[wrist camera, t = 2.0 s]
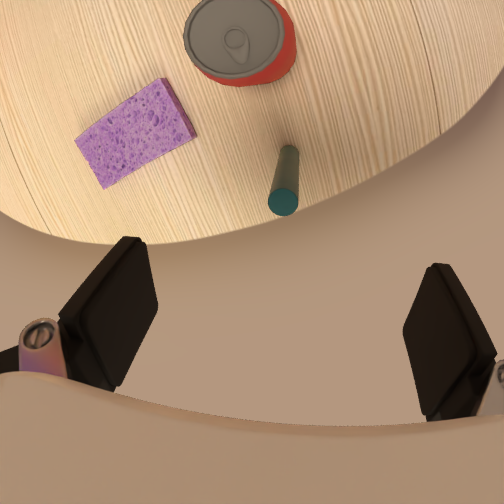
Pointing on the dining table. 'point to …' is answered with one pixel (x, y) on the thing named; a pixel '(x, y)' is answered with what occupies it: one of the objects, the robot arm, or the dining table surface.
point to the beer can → (240, 41)
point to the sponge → (135, 133)
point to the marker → (285, 183)
